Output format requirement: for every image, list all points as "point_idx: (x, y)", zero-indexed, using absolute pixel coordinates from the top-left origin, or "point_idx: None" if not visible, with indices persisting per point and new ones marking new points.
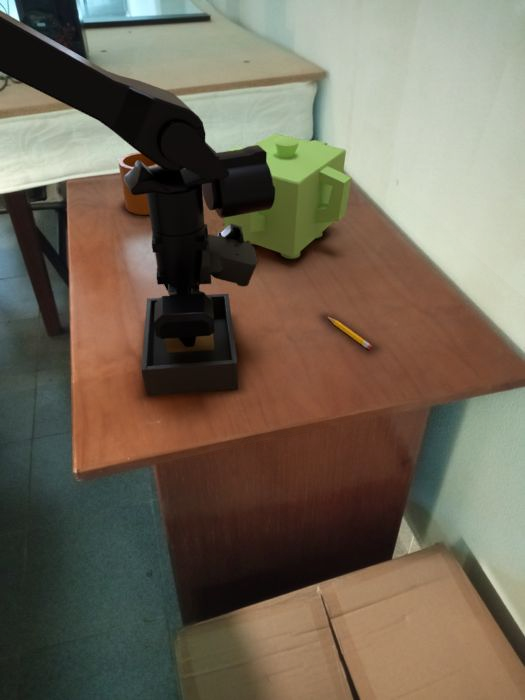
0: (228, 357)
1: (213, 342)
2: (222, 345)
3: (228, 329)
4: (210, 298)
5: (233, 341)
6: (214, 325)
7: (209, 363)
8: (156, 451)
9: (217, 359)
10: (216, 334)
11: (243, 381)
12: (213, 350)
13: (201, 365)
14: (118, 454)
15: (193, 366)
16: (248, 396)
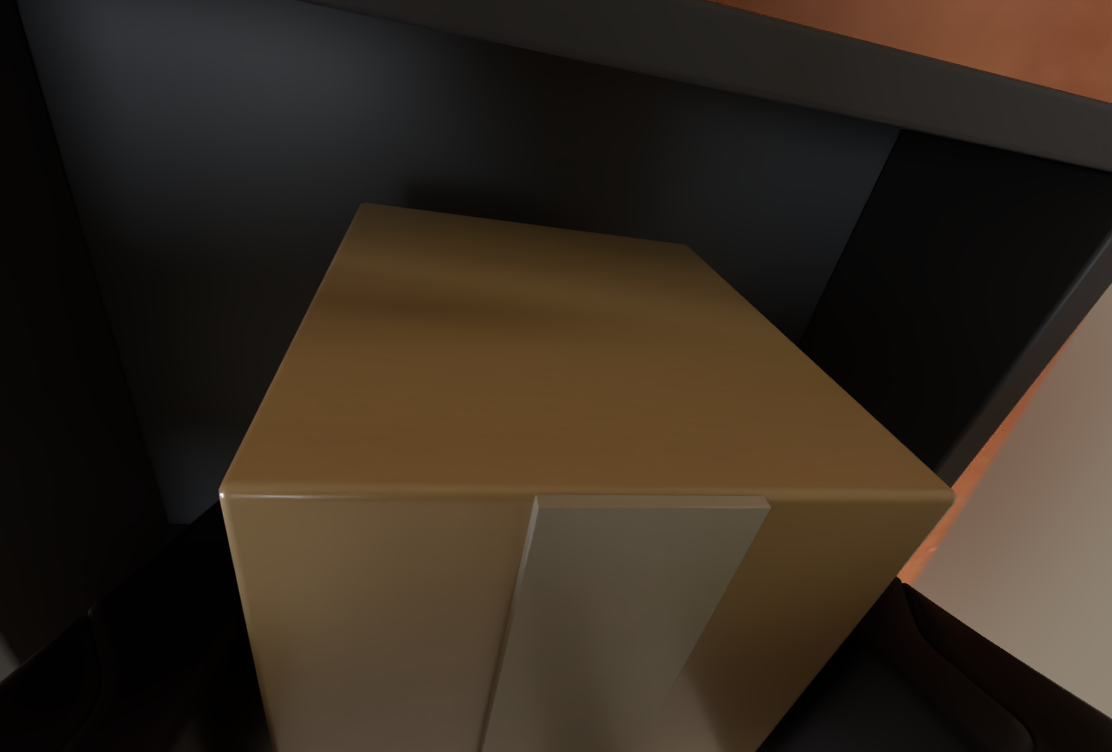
0: (648, 84)
1: (723, 279)
2: (487, 100)
3: (689, 80)
4: (254, 484)
5: (945, 79)
6: (161, 108)
7: (1024, 380)
8: (970, 487)
9: (636, 182)
10: (318, 121)
11: (890, 22)
12: (527, 192)
13: (990, 431)
14: (900, 571)
15: (955, 475)
16: (1023, 30)
